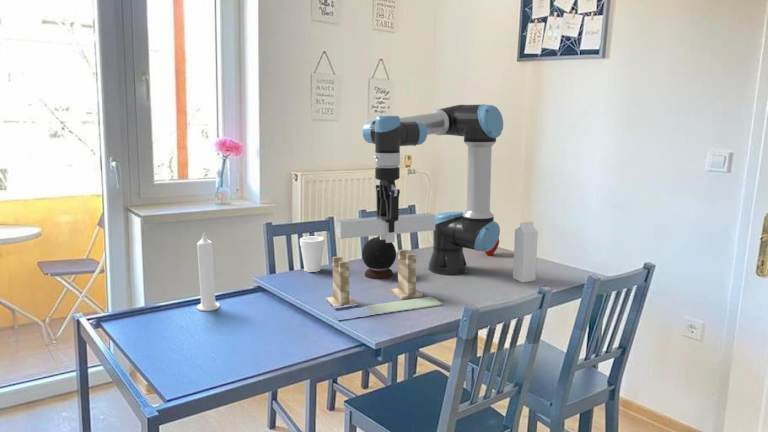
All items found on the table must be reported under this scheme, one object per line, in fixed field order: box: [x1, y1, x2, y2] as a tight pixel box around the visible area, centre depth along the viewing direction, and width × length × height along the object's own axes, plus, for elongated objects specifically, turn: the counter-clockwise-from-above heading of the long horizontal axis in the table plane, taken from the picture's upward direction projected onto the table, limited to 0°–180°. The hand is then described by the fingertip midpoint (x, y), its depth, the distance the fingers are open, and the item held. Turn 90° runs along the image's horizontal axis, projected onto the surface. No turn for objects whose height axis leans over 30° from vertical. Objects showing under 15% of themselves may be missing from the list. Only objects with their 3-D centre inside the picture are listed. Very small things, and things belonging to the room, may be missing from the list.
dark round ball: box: [361, 236, 397, 280], centre depth 220 cm, size 13×13×15 cm
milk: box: [512, 221, 539, 283], centre depth 214 cm, size 6×6×22 cm
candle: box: [196, 232, 221, 312], centre depth 184 cm, size 7×7×25 cm
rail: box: [335, 212, 436, 240], centre depth 179 cm, size 32×4×5 cm, turn 113°
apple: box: [483, 237, 500, 256], centre depth 250 cm, size 9×8×11 cm
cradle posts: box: [325, 248, 424, 307], centre depth 193 cm, size 32×9×15 cm, turn 113°
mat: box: [364, 296, 444, 314], centre depth 184 cm, size 36×8×1 cm, turn 113°
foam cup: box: [299, 235, 325, 273], centre depth 226 cm, size 10×9×13 cm
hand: (387, 240), depth 180 cm, fingers closed on rail, 4 cm apart
